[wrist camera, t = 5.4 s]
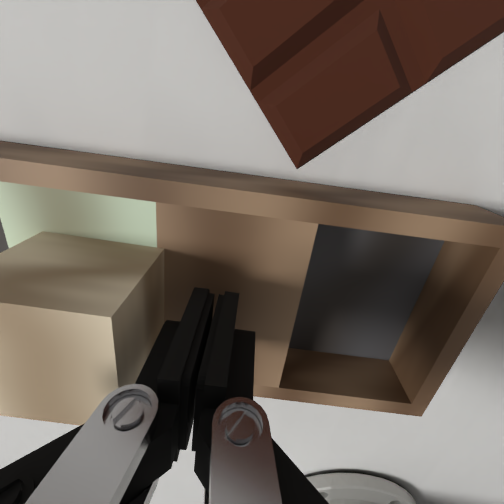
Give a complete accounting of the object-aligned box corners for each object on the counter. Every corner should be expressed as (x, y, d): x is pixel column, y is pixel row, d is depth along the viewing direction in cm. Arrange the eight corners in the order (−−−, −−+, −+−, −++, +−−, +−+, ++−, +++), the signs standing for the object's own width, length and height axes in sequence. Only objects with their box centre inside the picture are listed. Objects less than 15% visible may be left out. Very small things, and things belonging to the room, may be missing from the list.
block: (164, 248, 10) (110, 317, 7) (164, 339, 12) (122, 431, 9) (42, 231, 10) (-77, 292, 7) (61, 325, 12) (-23, 412, 9)
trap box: (475, 205, 12) (535, 229, 10) (395, 367, 17) (421, 416, 14) (-127, 123, 12) (-245, 124, 9) (-47, 312, 16) (-110, 351, 13)
